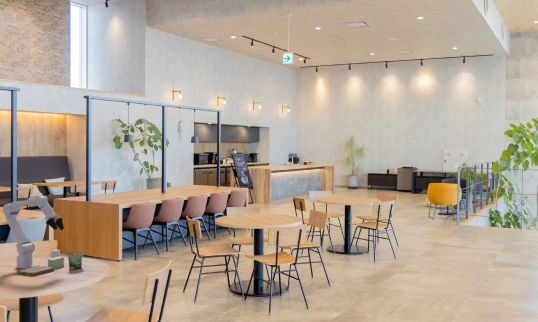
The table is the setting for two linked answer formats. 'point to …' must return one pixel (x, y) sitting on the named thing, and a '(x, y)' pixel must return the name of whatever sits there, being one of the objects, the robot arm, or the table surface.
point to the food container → (75, 261)
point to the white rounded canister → (54, 253)
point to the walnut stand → (35, 270)
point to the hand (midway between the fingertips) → (59, 229)
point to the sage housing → (56, 262)
